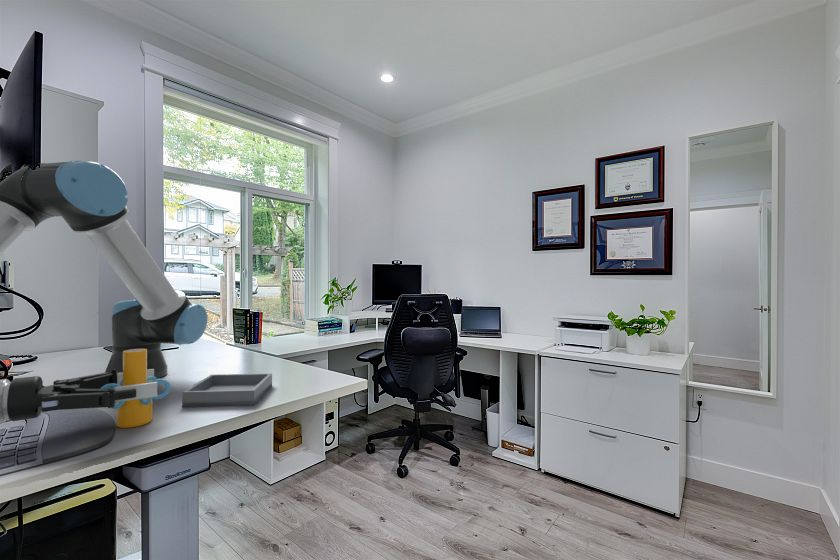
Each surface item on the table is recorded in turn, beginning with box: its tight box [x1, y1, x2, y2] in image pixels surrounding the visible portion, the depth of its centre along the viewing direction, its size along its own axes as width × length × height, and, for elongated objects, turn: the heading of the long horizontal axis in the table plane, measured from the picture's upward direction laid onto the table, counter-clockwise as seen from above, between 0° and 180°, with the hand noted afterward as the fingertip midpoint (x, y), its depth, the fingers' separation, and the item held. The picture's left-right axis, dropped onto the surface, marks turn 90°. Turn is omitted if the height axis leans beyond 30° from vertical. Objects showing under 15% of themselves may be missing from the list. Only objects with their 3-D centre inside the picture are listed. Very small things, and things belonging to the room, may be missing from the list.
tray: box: [181, 373, 273, 408], centre depth 98 cm, size 16×16×4 cm
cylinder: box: [100, 349, 171, 429], centre depth 80 cm, size 12×10×15 cm
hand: (155, 381), depth 82 cm, fingers open, 12 cm apart
